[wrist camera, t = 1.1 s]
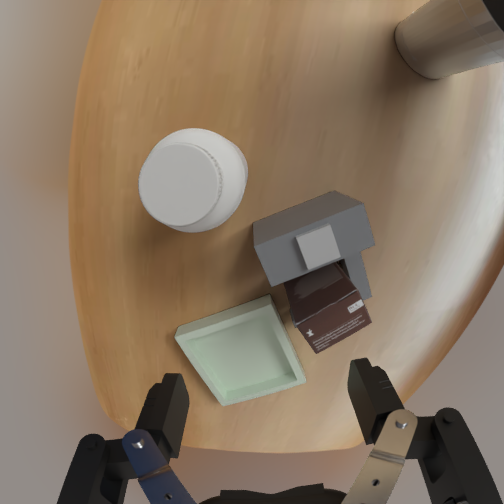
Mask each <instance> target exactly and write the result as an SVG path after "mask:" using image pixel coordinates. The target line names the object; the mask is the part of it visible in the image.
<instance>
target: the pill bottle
mask: <svg viewBox="0 0 504 504" xmlns="http://www.w3.org/2000/svg"><path fill="white" fill-rule="evenodd" d="M139 175H140V176H139V180H138V187H139V189H138V191H139V195H140V199H141V202H142V203H143V206H144V207H145V209H146V210H147V212H148V213H149V214H150V215H151V216H152V217H153V218H154V219H156V220H157V221H159V222H160V223H163V224H165V225H167V226H169V227H171V228H173V229H175V230H179V231H183V232H193V233H194V232H203V231H207V230H210V229H213V228H215V227H217V226H219V225H221V224H222V223H224V222H225V221H226V220H227V219H228V218H229V217H230V216H231V215H232V214H233V213H234V212H235V210H236V209H237V207H238V206H239V204H240V202H241V200H242V197H243V194H244V190H245V187H246V183H247V178H248V166H247V162H246V159H245V157H244V155H243V153H242V152H241V150H240V149H239V148H238V147H237V146H236V145H235V144H233V143H232V142H230V141H229V140H227V139H226V138H224V137H222V136H221V135H219V134H217V133H215V132H212V131H209V130H206V129H199V128H189V129H183V130H179V131H176V132H174V133H171V134H169V135H168V136H166V137H165V138H163V139H162V140H161V141H160V142H158V143H157V144H156V146H155V147H154V148H153V149H152V151H151V152H150V154H149V155H148V157H147V159H146V161H145V162H144V164H143V166H142V168H141V172H140V174H139Z"/></svg>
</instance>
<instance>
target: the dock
mask: <svg viewBox="0 0 504 504" xmlns="http://www.w3.org/2000/svg"><path fill="white" fill-rule="evenodd" d="M253 236H254V248H255V250H256V253H257V255H258V257H259V260H260V262H261V264H262V266H263V269H264V271H265V273H266V276H267V278H268V280H269V283H270V285H271V287H273V286H275V285H278V284H281V283H283V282H286V281H288V280H291V279H293V278H296V277H299V276H301V275H304V274H306V273H309V272H311V271H314V270H316V269H319V268H321V267H324V266H326V265H329V264H331V263H333V262H336V261H338V260H340V261H341V265H342V268H343V271H344V273H345V274H346V275H347V276H348V278H349V279H350V280H351V281H352V283H353V284H354V285H355V286H356V288H357V289H358V290H359V292H360V295H361V297H362V300H366V299H368V298H370V297H372V295H371V291H370V287H369V283H368V279H367V275H366V271H365V267H364V263H363V260H362V256H361V252H360V251H362V250H365V249H367V248H369V247H372V246H374V245H375V242H374V239H373V235H372V231H371V227H370V224H369V220H368V217H367V213H366V210H365V207H364V203H362V202H360V201H358V200H355V199H353V198H351V197H349V196H346V195H344V194H342V193H339V192H337V191H332V192H329V193H327V194H324V195H322V196H319V197H316V198H314V199H311V200H309V201H306V202H304V203H301V204H299V205H296V206H293V207H291V208H288V209H286V210H283V211H281V212H278V213H276V214H273V215H271V216H268V217H266V218H263V219H261V220H259V221H256V222H254V223H253ZM290 313H291V317H292V321H293V324H294V326H295V328H296V327H297V326H296V325H295V321H294V317H293V313H292V310H291V309H290Z"/></svg>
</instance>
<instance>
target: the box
mask: <svg viewBox="0 0 504 504" xmlns="http://www.w3.org/2000/svg"><path fill="white" fill-rule="evenodd" d="M284 285H285V289H286V292H287V296H288V299H289V302H290V306H291V310H292V313H293V317H294V321H295V325H296V326H297V328H298V329H299V331H300V332H301V333H302V335H303V336H304V338H305V339H306V340H307V342H308V343H309V345H310V346H311V348H312V349H313V350H314V352H315V353H316V354H317V353H319V352H321V351H323V350H325V349H327V348H328V347H330V346H332V345H334V344H336V343H338V342H339V341H341V340H343V339H345V338H346V337H348V336H350V335H352V334H353V333H355V332H357V331H359V330H360V329H362V328H363V327H365V326H367V325H369V324H370V323H372V321H371V319H370V316H369V314H368V311H367V309H366V307H365V304H364V302H363V300H362V297H361V295H360V292H359V290H358V289H357V288H356V286H355V285H354V284H353V283H352V281H351V280H350V279H349V278H348V276H347V275H346V274H345V273H344V272H343V270H342V269H341V268H340V267H339V265H338V264H337V263H336V262H333V263H331V264H329V265H326V266H324V267H321V268H319V269H316V270H314V271H311V272H309V273H306V274H304V275H301V276H299V277H296V278H293V279H291V280H288V281H286V282H284Z"/></svg>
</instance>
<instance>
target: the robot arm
mask: <svg viewBox="0 0 504 504" xmlns="http://www.w3.org/2000/svg"><path fill="white" fill-rule="evenodd" d="M395 40H396V45H397V47H398V50H399V52H400V54H401V55H402V57H403V59H404V60H405V61H406V62H407V64H408V65H409V66H410V67H411V68H412V69H413V70H415V71H416V72H417V73H419V74H420V75H422V76H424V77H427V78H430V79H440V78H444V77H447V76H450V75H453V74H457V73H461V72H464V71H468V70H471V69H475V68H479V67H482V66H486V65H490V64H494V63H499V62H503V61H504V0H430V1H429V2H427V3H426V4H424V5H423V6H422V7H420V8H419V9H418V10H416V11H415V12H413V13H412V14H411V15H409V16H408V17H407V18H406V19H404V20H403V21H402V22H400V23H399V24H398V26H397V27H396V31H395ZM348 393H349V396H350V399H351V402H352V405H353V408H354V410H355V413H356V416H357V419H358V422H359V425H360V428H361V431H362V434H363V437H364V440H365V442H366V445H368V444H372V443H374V448H373V450H372V452H371V453H370V454H369V456H368V458H367V460H366V462H365V464H364V466H363V468H362V469H361V471H360V473H359V475H358V477H357V478H356V480H355V482H354V483H353V485H352V487H351V488H350V490H349V492H348V493H347V494H346V493H344V492H341V491H338V490H334V489H324V486H323V483H321V484H314V485H307V486H300V487H295V488H292V489H289V490H286V491H283V492H279V493H275V494H265V493H259V492H253V491H247V490H221V493H220V496H216V497H213V498H210V499H207V500H205V501H203V502H201V503H199V504H386V503H387V501H388V499H389V497H390V495H391V493H392V490H393V489H394V486H395V484H396V482H397V480H398V477H399V475H400V473H401V471H402V468H403V466H404V463H405V459H418V462H419V465H420V467H421V471H422V474H423V477H424V480H425V483H426V486H427V489H428V493H429V496H430V499H431V502H432V504H503V503H502V500H501V498H500V495H499V493H498V490H497V488H496V485H495V483H494V481H493V478H492V476H491V474H490V472H489V469H488V467H487V465H486V463H485V461H484V458H483V456H482V454H481V452H480V450H479V448H478V446H477V444H476V442H475V440H474V438H473V436H472V434H471V432H470V431H469V428H468V427H467V425H466V423H465V421H464V419H463V417H462V416H461V414H460V413H459V411H457V410H456V409H453V408H443V409H441V410H439V411H438V412H437V414H436V415H435V416H430V417H417V416H415V415H414V413H412V412H410V411H409V410H405V409H404V407H403V404H402V402H401V400H400V399H399V397H398V395H397V393H396V391H395V389H394V387H393V385H392V383H391V381H389V378H388V376H387V374H386V372H385V371H384V370H383V369H381V368H380V367H379V366H375V367H372V366H371V364H370V362H369V360H368V359H367V358H361V359H356V360H352V361H351V363H350V370H349V377H348ZM188 409H189V395H188V392H187V389H186V386H185V383H184V380H183V377H182V374H180V373H166V374H165V375H164V377H163V380H162V383H155V384H154V386H153V387H152V388H151V389H150V390H149V392H148V395H147V397H146V400H145V402H144V406H143V408H142V410H141V413H140V416H139V418H138V421H137V424H136V427H135V429H134V430H131V431H129V432H128V433H127V434H125V435H124V437H123V438H122V439H115V440H104V438H103V437H102V436H100V435H98V434H89V435H86V436H84V437H83V438H82V439H81V440H80V442H79V444H78V447H77V449H76V452H75V455H74V457H73V460H72V462H71V465H70V468H69V470H68V473H67V476H66V479H65V481H64V484H63V487H62V490H61V493H60V496H59V498H58V502H57V504H123V502H124V497H125V493H126V488H127V484H128V479H136V478H138V482H139V484H140V486H141V488H142V489H143V491H144V493H145V495H146V497H147V498H148V500H149V502H150V504H197V503H196V502H195V501H194V500H193V498H192V497H191V495H190V494H189V493H188V491H187V490H186V489H185V487H184V486H183V485H182V483H181V482H180V480H179V479H178V477H177V476H176V475H175V473H174V472H173V470H172V469H171V467H170V466H169V461H170V458H178V456H179V451H180V446H181V441H182V436H183V432H184V427H185V422H186V418H187V413H188Z"/></svg>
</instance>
